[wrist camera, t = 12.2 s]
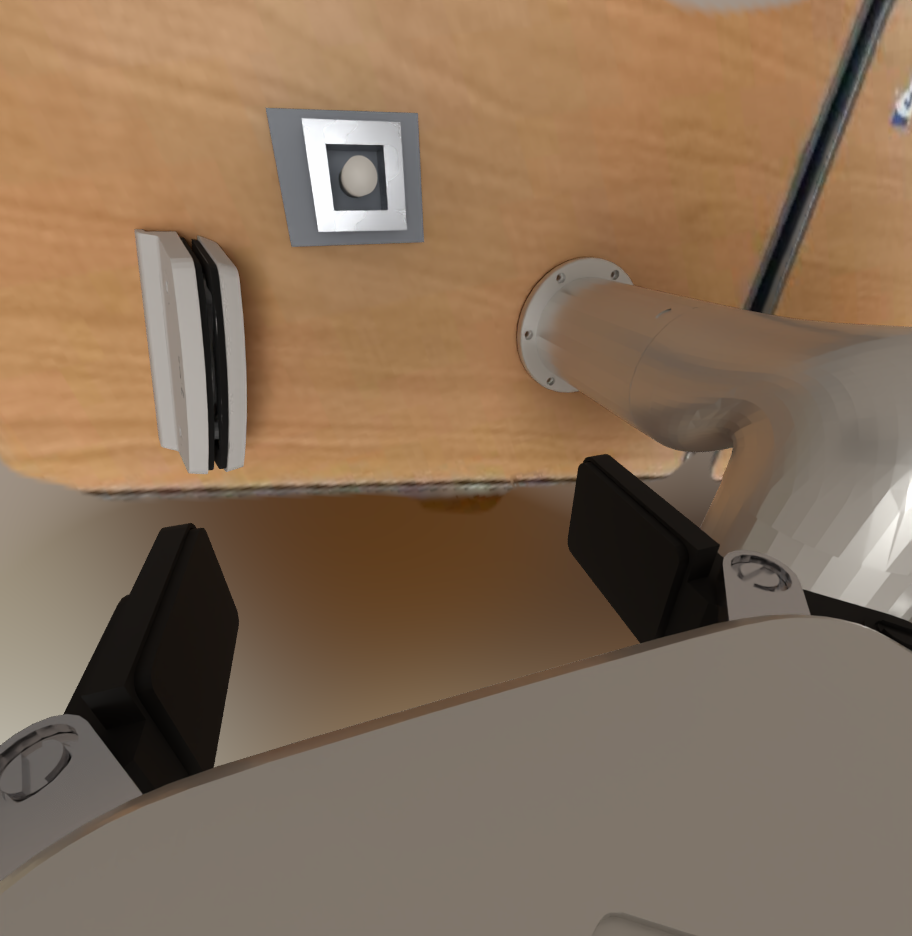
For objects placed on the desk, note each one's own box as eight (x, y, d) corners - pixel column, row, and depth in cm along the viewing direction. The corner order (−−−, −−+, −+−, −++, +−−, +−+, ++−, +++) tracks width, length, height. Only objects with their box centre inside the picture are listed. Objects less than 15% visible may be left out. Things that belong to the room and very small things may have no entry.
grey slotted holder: (133, 222, 30) (149, 239, 23) (211, 235, 33) (245, 254, 26) (159, 442, 37) (176, 503, 31) (221, 437, 40) (249, 492, 33)
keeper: (414, 116, 31) (438, 93, 25) (421, 241, 35) (443, 246, 29) (267, 111, 29) (256, 85, 23) (292, 245, 33) (287, 252, 27)
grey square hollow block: (392, 130, 30) (400, 122, 28) (398, 228, 34) (406, 229, 31) (302, 128, 29) (301, 118, 26) (317, 230, 32) (318, 231, 29)
